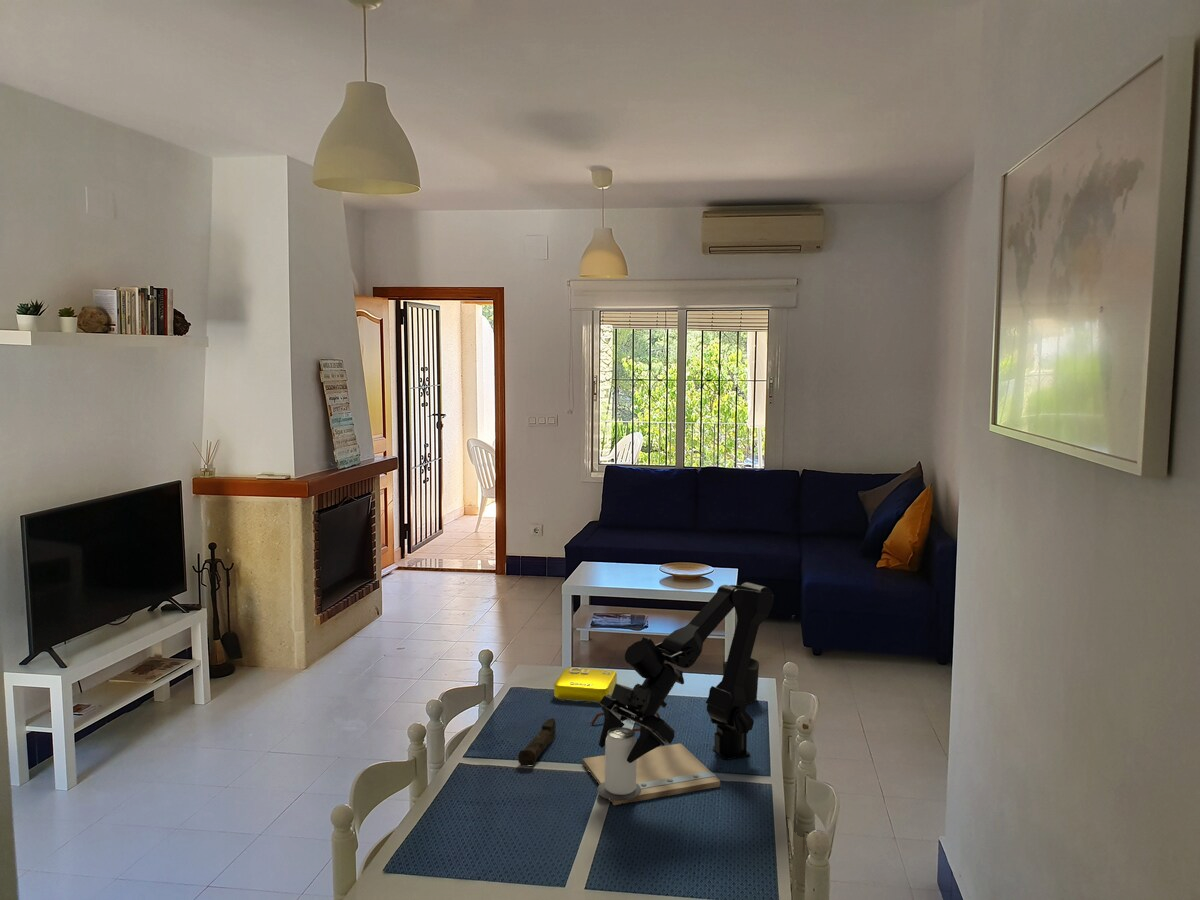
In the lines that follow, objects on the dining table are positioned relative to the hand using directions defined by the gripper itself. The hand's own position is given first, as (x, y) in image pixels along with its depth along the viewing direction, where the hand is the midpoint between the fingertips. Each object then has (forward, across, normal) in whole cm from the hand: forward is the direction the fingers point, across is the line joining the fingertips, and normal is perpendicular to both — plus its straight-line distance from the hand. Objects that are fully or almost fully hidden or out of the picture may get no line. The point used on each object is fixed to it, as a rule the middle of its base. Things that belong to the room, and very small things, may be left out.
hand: (614, 754), depth 181 cm
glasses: (-10, -26, +24) cm, 37 cm away
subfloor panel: (-1, -3, +15) cm, 15 cm away
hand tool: (+6, -29, +8) cm, 31 cm away
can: (+5, 0, +7) cm, 8 cm away
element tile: (-15, -52, +29) cm, 61 cm away
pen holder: (-36, -22, +50) cm, 65 cm away
